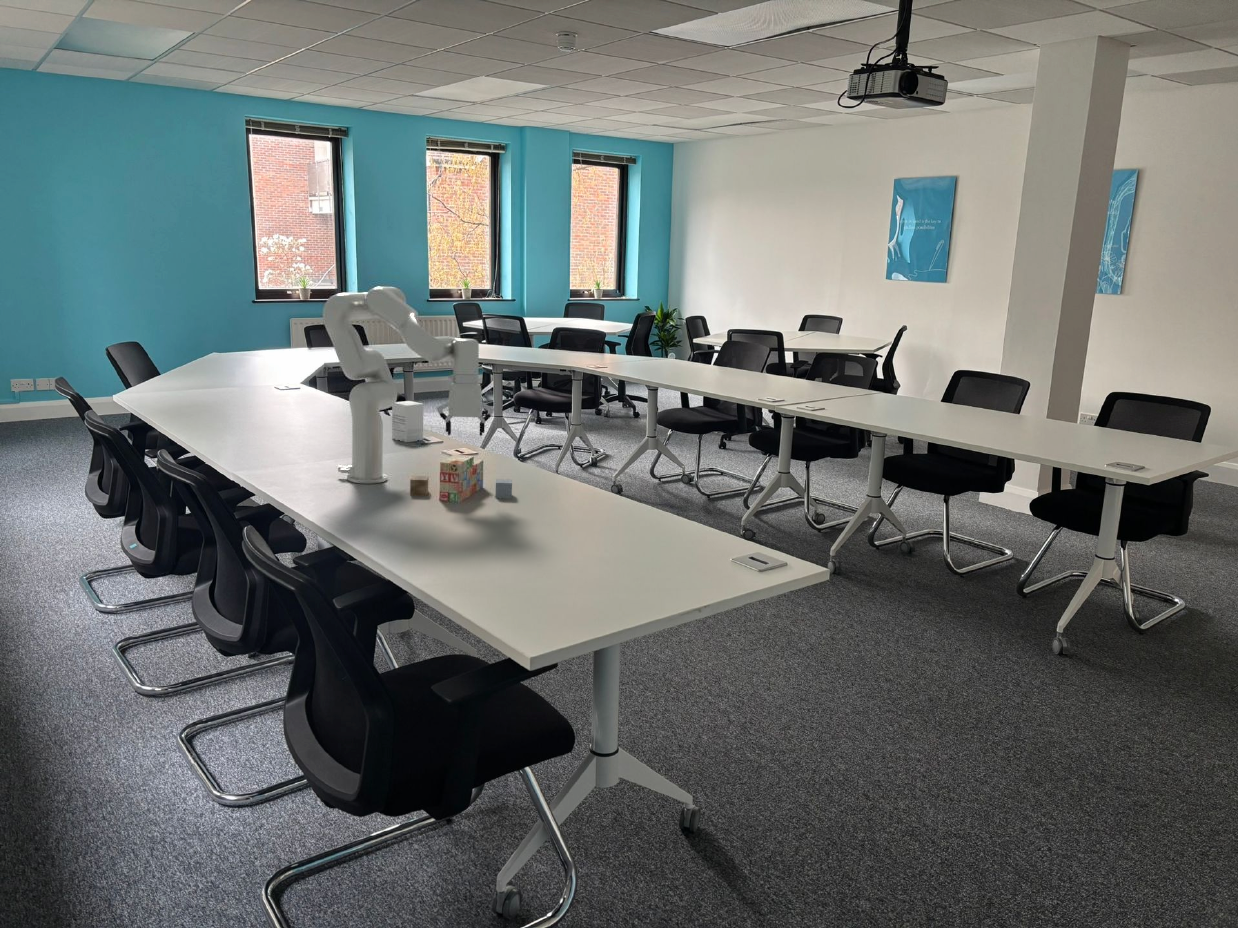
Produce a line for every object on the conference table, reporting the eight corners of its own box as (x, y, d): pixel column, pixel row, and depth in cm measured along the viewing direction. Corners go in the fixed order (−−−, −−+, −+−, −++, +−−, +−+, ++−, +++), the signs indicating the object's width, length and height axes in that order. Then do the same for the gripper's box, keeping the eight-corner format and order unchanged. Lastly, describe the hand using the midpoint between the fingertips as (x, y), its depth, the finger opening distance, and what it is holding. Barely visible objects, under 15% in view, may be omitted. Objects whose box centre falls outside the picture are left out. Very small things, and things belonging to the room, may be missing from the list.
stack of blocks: (465, 485, 288) (466, 448, 285) (483, 487, 287) (484, 450, 284) (438, 500, 268) (439, 461, 265) (458, 503, 266) (459, 463, 264)
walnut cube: (410, 495, 272) (410, 479, 270) (411, 491, 276) (412, 475, 275) (426, 495, 272) (427, 480, 271) (428, 491, 277) (428, 476, 276)
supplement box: (408, 436, 360) (409, 400, 357) (423, 440, 355) (424, 403, 352) (390, 439, 353) (391, 402, 350) (406, 442, 348) (406, 405, 345)
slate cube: (495, 498, 275) (495, 482, 274) (495, 494, 280) (496, 478, 279) (511, 498, 276) (512, 483, 274) (511, 494, 280) (512, 479, 279)
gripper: (435, 380, 264) (435, 436, 268) (494, 382, 267) (493, 437, 270) (437, 377, 272) (437, 431, 275) (494, 379, 274) (493, 433, 277)
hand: (465, 434), depth 273 cm, fingers open, 9 cm apart
